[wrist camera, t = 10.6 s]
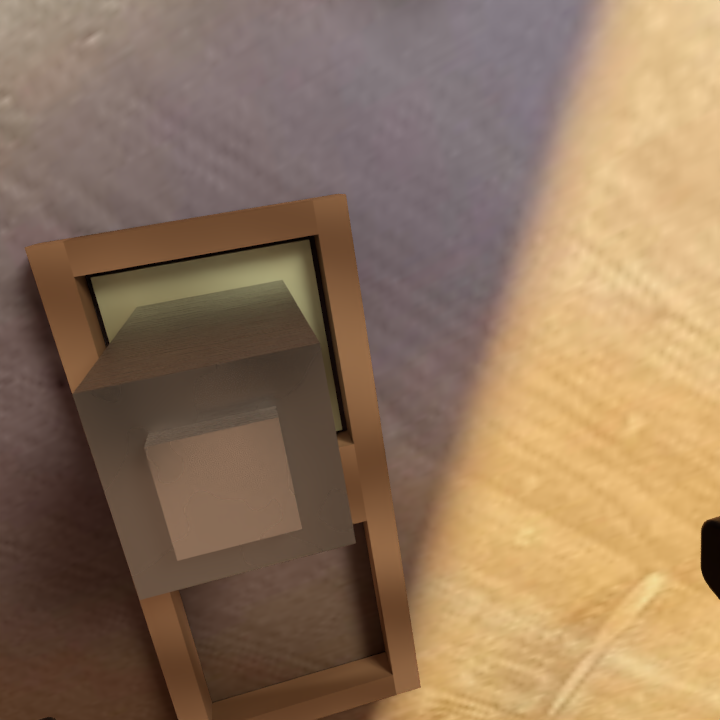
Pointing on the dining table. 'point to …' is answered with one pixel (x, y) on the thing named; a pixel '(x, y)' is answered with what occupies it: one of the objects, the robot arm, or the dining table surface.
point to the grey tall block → (216, 438)
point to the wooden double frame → (353, 362)
